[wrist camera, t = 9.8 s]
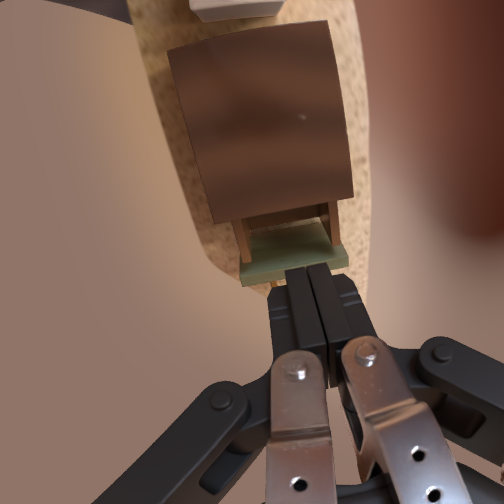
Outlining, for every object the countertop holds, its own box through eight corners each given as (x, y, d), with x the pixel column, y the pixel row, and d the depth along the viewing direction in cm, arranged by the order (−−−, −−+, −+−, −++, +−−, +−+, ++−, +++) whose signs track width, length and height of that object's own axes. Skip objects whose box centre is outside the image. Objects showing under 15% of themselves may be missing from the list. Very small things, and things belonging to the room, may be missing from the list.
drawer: (334, 266, 37) (350, 305, 31) (251, 281, 38) (253, 324, 32) (315, 113, 28) (335, 125, 22) (212, 133, 29) (203, 151, 23)
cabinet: (327, 165, 32) (354, 197, 24) (221, 185, 33) (214, 224, 25) (304, 33, 25) (327, 19, 17) (187, 56, 26) (166, 50, 18)
